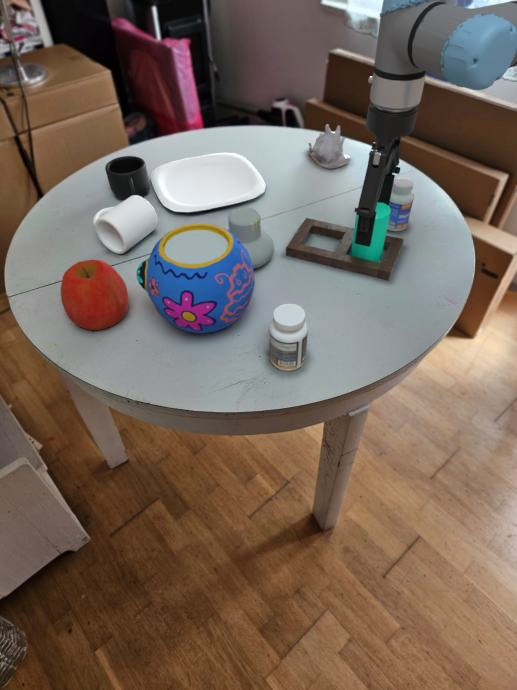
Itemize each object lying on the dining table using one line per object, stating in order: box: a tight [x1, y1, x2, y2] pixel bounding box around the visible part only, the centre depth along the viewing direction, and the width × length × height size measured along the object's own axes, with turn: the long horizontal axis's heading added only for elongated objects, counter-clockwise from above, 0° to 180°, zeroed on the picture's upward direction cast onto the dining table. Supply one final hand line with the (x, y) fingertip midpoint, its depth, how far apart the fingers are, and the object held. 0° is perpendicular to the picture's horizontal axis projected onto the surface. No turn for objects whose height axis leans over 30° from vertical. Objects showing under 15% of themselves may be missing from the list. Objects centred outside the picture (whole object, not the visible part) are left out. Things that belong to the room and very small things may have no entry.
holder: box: [285, 217, 405, 281], centre depth 93 cm, size 21×11×2 cm, turn 66°
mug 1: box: [104, 155, 150, 200], centre depth 108 cm, size 12×9×7 cm
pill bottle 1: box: [268, 303, 309, 372], centre depth 71 cm, size 6×6×10 cm
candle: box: [349, 203, 391, 262], centre depth 88 cm, size 6×6×12 cm
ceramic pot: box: [136, 223, 256, 334], centre depth 77 cm, size 18×18×15 cm
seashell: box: [307, 124, 351, 170], centre depth 117 cm, size 10×12×9 cm
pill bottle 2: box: [387, 177, 415, 232], centre depth 96 cm, size 5×5×10 cm
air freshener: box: [227, 207, 275, 270], centre depth 89 cm, size 11×8×10 cm
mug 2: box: [92, 195, 159, 255], centre depth 96 cm, size 12×10×8 cm
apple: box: [60, 258, 129, 331], centre depth 79 cm, size 11×11×11 cm
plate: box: [149, 152, 267, 214], centre depth 112 cm, size 25×25×2 cm
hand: (372, 224), depth 87 cm, fingers open, 13 cm apart
